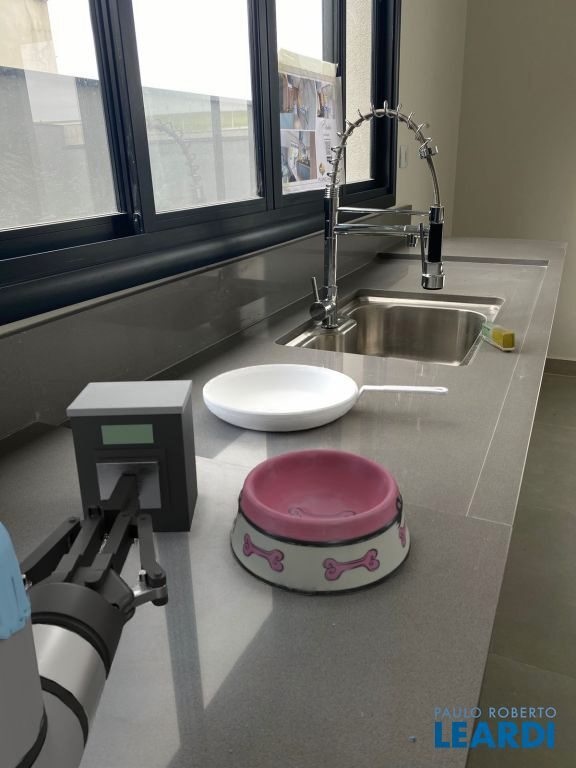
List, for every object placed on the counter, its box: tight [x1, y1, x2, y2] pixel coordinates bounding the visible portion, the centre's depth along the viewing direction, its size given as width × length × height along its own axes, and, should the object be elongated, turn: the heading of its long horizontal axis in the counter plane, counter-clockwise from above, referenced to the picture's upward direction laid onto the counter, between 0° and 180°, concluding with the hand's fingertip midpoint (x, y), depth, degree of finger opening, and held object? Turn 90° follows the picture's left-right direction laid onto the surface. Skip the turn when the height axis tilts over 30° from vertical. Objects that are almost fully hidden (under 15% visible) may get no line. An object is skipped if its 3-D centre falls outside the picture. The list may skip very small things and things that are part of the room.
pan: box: [202, 363, 449, 432], centre depth 97 cm, size 25×39×4 cm, turn 82°
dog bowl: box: [229, 448, 412, 596], centre depth 62 cm, size 18×19×7 cm
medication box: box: [481, 321, 516, 352], centre depth 134 cm, size 12×3×4 cm, turn 5°
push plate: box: [96, 457, 163, 509], centre depth 61 cm, size 1×6×5 cm, turn 92°
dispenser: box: [65, 379, 199, 536], centre depth 66 cm, size 8×11×14 cm
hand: (128, 488), depth 60 cm, fingers closed
